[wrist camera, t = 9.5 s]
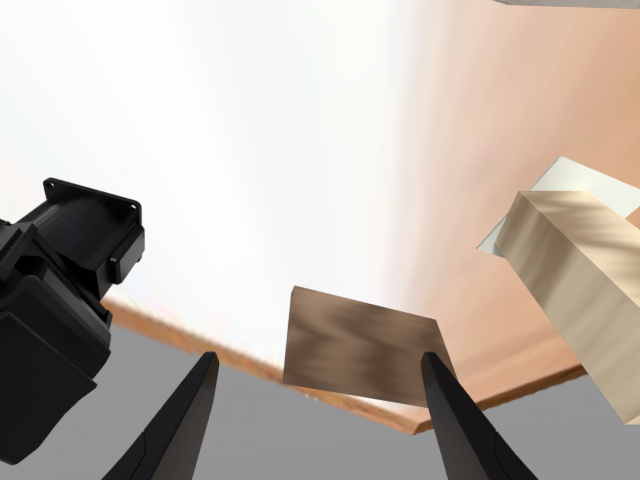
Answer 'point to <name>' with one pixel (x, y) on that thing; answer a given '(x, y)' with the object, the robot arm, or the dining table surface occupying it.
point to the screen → (358, 348)
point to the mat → (576, 178)
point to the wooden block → (583, 283)
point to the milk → (577, 3)
